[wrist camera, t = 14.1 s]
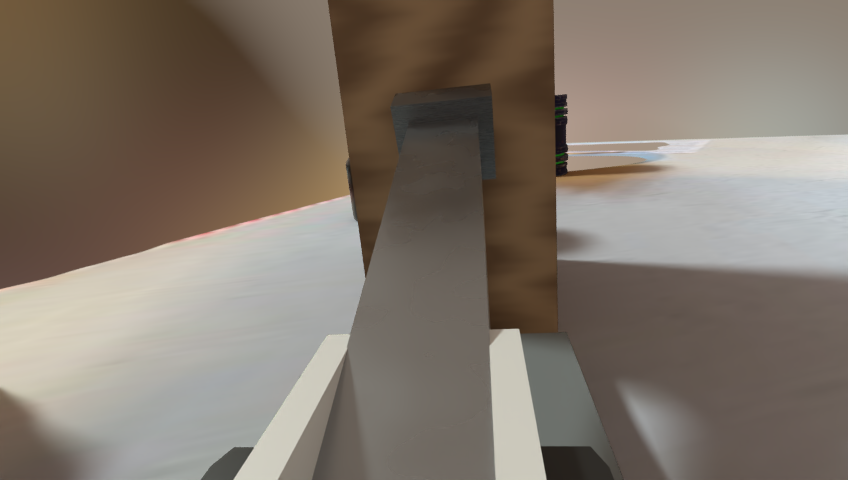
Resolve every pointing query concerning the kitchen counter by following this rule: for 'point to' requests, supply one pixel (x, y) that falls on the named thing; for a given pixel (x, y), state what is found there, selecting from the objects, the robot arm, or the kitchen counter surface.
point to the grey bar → (423, 308)
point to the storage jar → (560, 134)
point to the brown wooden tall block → (512, 120)
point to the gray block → (563, 397)
